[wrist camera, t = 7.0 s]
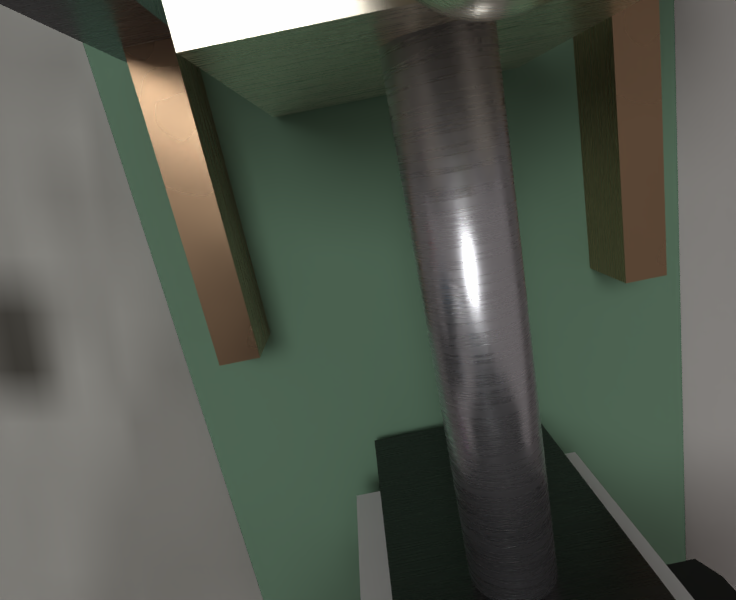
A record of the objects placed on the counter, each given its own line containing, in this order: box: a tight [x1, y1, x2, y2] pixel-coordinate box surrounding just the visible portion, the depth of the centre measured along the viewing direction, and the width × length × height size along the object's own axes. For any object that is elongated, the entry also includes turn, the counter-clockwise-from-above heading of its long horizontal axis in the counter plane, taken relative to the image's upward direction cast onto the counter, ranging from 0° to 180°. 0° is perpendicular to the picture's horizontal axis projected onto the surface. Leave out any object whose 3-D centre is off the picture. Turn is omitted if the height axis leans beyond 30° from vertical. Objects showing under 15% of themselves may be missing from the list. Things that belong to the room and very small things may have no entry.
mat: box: [83, 0, 686, 600], centre depth 14 cm, size 35×14×1 cm, turn 11°
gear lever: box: [162, 0, 676, 600], centre depth 8 cm, size 15×6×11 cm, turn 11°
